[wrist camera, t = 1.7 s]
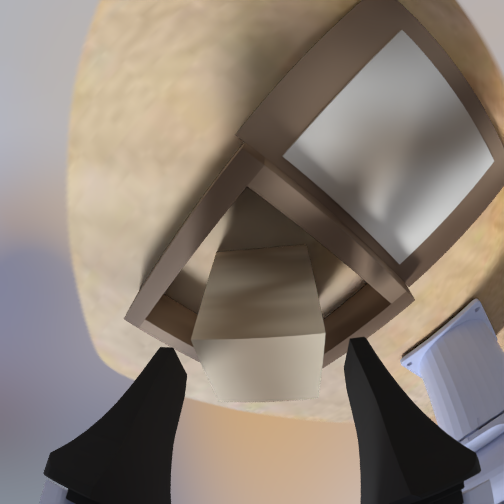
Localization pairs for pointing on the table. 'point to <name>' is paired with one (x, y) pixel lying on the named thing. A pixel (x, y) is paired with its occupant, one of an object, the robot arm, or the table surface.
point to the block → (261, 326)
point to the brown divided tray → (353, 170)
